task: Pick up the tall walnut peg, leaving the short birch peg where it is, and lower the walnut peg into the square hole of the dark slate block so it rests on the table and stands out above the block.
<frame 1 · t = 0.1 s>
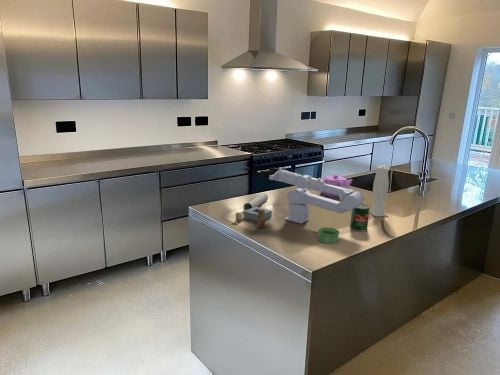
hand: (265, 171, 190), 22 cm above the countertop, tool horizontal, fingers open, 7 cm apart
ramekin: (327, 240, 161), on the countertop
canned tomato: (358, 228, 176), on the countertop
walnut peg: (261, 227, 173), on the countertop
teakettle: (334, 194, 233), on the countertop
hole block: (257, 217, 186), on the countertop
skyscraper: (377, 215, 195), on the countertop
birch peg: (239, 221, 181), on the countertop
tube: (256, 206, 206), on the countertop
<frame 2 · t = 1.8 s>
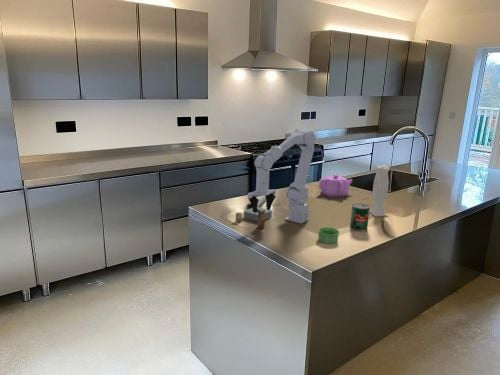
hand: (261, 210, 171), 8 cm above the countertop, tool pointing down, fingers open, 7 cm apart
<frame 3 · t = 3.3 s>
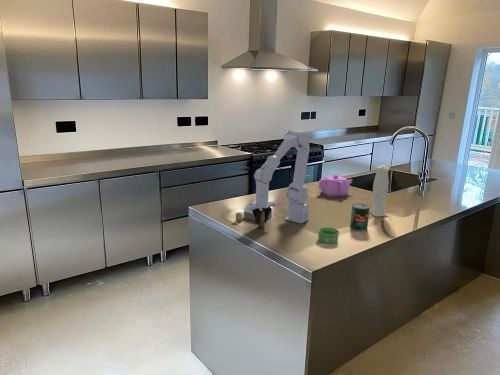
hand: (261, 223, 173), 2 cm above the countertop, tool pointing down, fingers closed on walnut peg, 3 cm apart
walnut peg: (261, 227, 173), on the countertop, touching gripper
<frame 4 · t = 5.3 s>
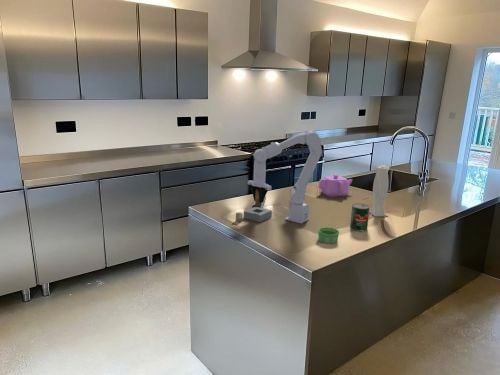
hand: (258, 201, 182), 9 cm above the countertop, tool pointing down, fingers closed on walnut peg, 3 cm apart
walnut peg: (258, 205, 182), point 7 cm above the countertop, touching gripper
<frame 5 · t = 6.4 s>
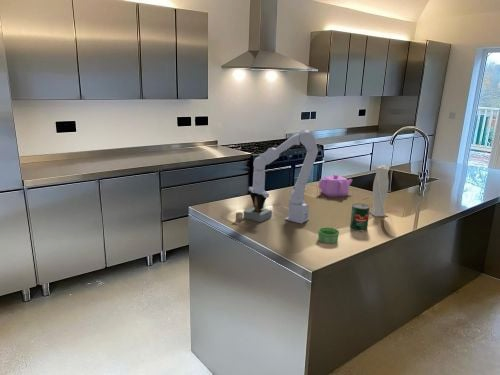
hand: (257, 207, 185), 5 cm above the countertop, tool pointing down, fingers closed on walnut peg, 3 cm apart
walnut peg: (257, 211, 185), point 3 cm above the countertop, touching gripper
when the fingers open (4 cm above the countertop, at t = 7.3 s): walnut peg drops 2 cm, resting in hole block.
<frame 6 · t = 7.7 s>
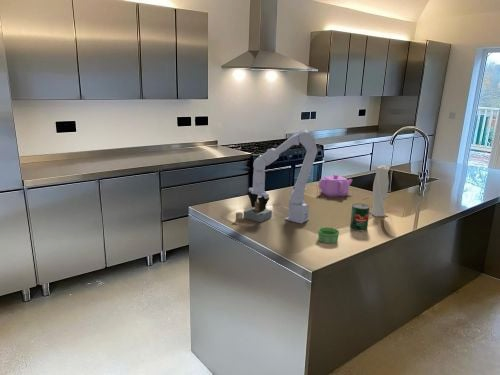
hand: (257, 208, 185), 4 cm above the countertop, tool pointing down, fingers open, 7 cm apart
walnut peg: (257, 217, 186), resting in hole block
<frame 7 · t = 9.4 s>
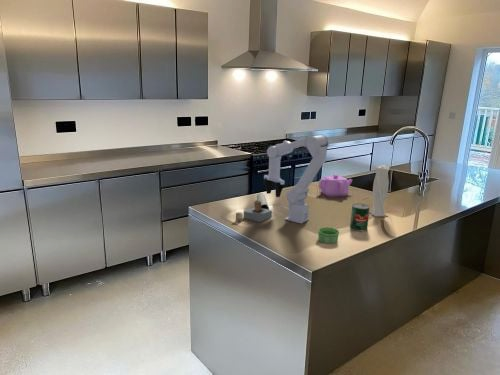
hand: (273, 195, 192), 9 cm above the countertop, tool pointing down, fingers open, 7 cm apart
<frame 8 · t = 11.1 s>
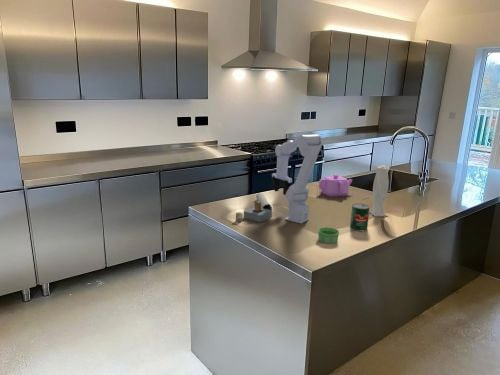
hand: (280, 192, 197), 9 cm above the countertop, tool pointing down, fingers open, 7 cm apart
at the end: walnut peg 0.1 cm off-centre on the hole block, point 0.0 cm above the hole block's base; walnut peg tilted 0°; birch peg moved 0.1 cm from its start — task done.
